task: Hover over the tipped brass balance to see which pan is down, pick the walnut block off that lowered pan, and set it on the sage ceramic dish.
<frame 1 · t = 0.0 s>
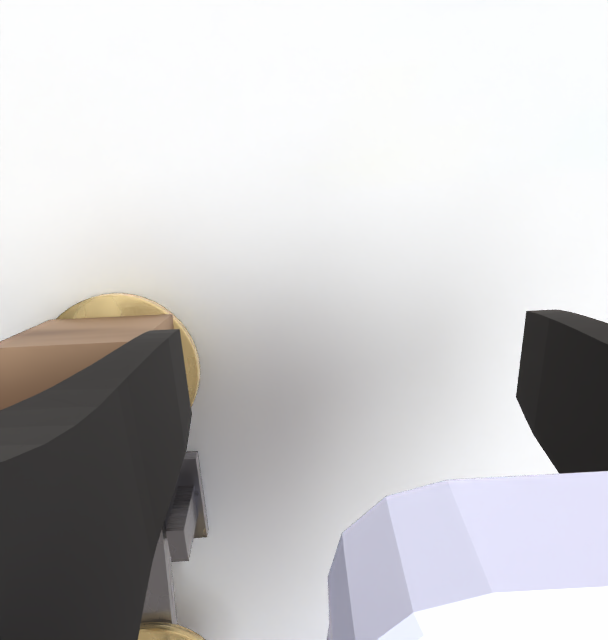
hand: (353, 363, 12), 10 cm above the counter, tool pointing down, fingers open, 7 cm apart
balance beam: (135, 546, 22), point 3 cm above the counter, hinge at 12.5°, touching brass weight, walnut block
balance stand: (154, 494, 26), on the counter
walnut block: (117, 375, 21), point 2 cm above the counter, tilted 12°, touching balance beam
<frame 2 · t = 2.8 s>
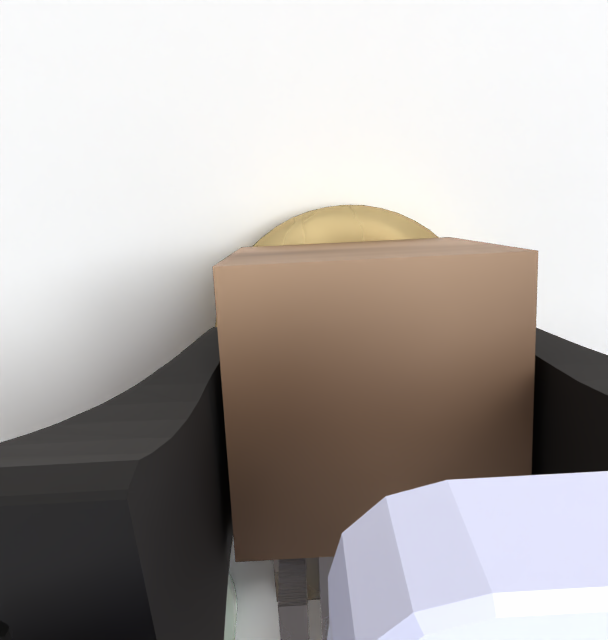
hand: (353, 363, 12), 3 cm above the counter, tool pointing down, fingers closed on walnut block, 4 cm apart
dish: (94, 605, 18), on the counter
balance beam: (359, 624, 14), point 3 cm above the counter, hinge at 12.5°, touching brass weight
balance stand: (346, 530, 17), on the counter
walnut block: (349, 343, 13), point 2 cm above the counter, tilted 13°, touching gripper
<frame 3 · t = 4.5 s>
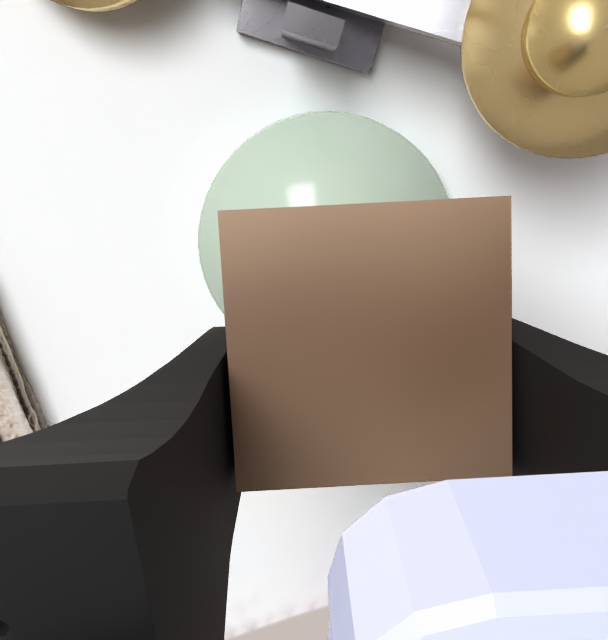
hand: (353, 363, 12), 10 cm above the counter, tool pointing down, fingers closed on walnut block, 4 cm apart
dish: (324, 240, 21), on the counter
walnut block: (344, 315, 13), point 8 cm above the counter, tilted 16°, touching gripper
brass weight: (583, 33, 14), point 5 cm above the counter, tilted 13°, touching balance beam
when the fingers open (3 cm above the counter, at t = 6.2 s): walnut block stays where it is, resting on dish.
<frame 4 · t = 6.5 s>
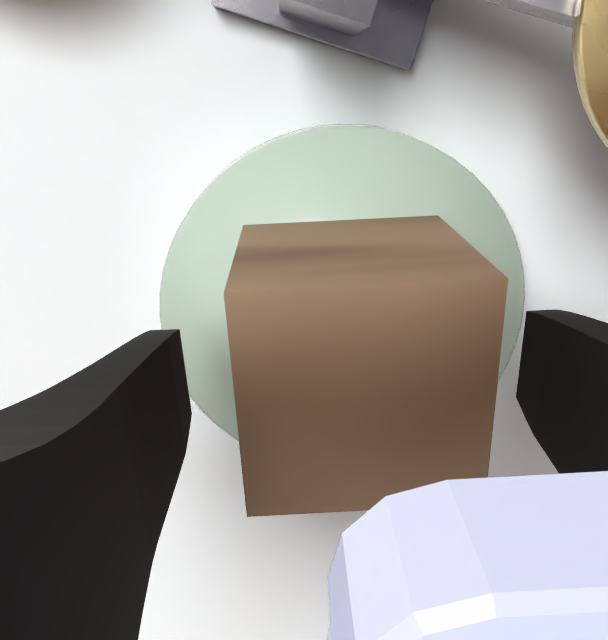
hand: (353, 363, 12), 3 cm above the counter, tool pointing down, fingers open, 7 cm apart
dish: (339, 303, 15), on the counter
walnut block: (342, 310, 14), point 1 cm above the counter, touching dish
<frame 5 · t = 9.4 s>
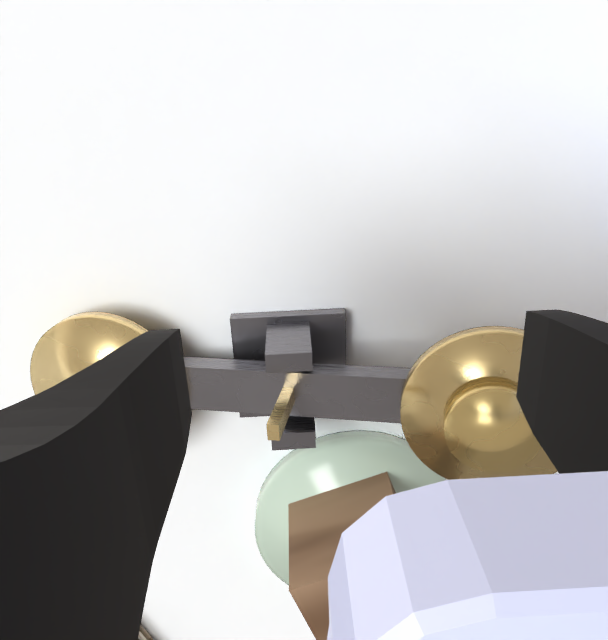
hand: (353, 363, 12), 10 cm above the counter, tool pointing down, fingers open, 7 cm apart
dish: (353, 513, 26), on the counter
balance beam: (284, 406, 20), point 3 cm above the counter, hinge at 12.5°, touching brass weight
balance stand: (290, 361, 23), on the counter
walnut block: (354, 525, 25), point 1 cm above the counter, touching dish
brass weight: (490, 416, 19), point 5 cm above the counter, tilted 13°, touching balance beam
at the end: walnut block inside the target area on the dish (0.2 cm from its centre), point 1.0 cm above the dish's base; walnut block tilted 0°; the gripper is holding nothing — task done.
